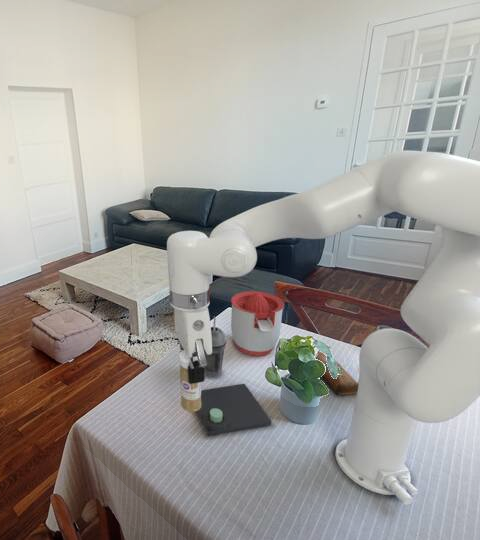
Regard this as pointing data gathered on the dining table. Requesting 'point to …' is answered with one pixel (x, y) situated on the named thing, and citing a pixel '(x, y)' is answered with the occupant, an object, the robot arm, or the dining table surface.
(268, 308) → the citrus juicer
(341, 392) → the brown leather shoe
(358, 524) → the dining table surface
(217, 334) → the beverage cup
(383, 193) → the robot arm
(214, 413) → the tare button
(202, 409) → the scale
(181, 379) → the sprinkles bottle
